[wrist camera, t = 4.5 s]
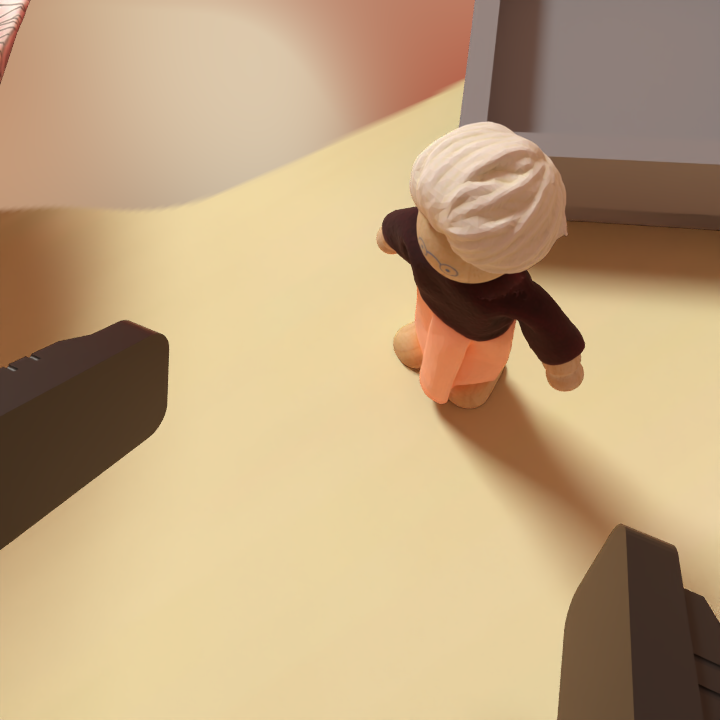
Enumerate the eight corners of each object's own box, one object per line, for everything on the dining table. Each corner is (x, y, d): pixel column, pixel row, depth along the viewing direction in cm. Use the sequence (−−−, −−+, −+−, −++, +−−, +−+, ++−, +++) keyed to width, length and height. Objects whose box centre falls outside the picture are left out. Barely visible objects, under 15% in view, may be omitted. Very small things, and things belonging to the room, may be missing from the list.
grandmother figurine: (352, 358, 23) (265, 154, 11) (402, 285, 24) (371, 19, 12) (523, 459, 21) (643, 343, 9) (571, 375, 22) (743, 163, 10)
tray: (782, -57, 27) (839, -155, 23) (808, 236, 22) (885, 172, 18) (485, -53, 29) (492, -142, 25) (452, 212, 24) (456, 151, 21)
